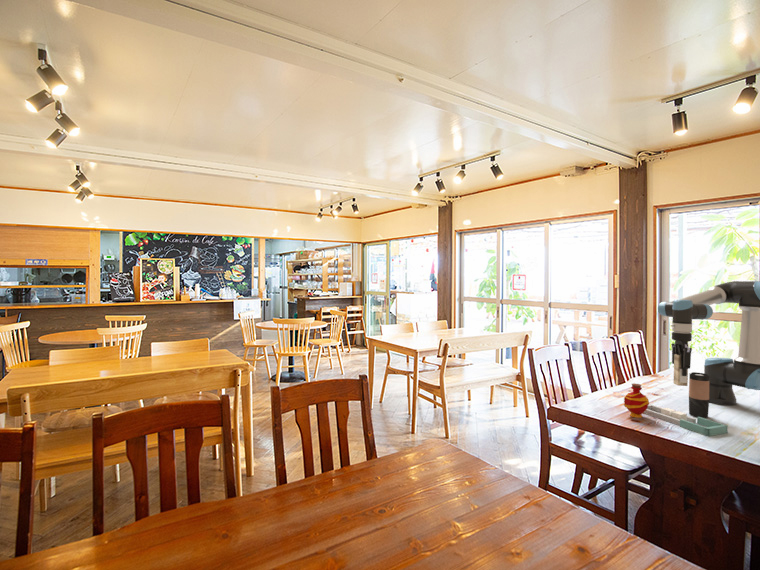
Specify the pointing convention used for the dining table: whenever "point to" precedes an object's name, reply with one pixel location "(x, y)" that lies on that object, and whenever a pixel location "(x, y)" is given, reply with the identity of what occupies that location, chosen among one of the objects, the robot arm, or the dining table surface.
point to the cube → (679, 415)
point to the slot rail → (665, 417)
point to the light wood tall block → (678, 371)
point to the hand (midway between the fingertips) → (680, 381)
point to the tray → (709, 430)
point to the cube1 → (667, 411)
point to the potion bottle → (636, 401)
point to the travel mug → (698, 394)
